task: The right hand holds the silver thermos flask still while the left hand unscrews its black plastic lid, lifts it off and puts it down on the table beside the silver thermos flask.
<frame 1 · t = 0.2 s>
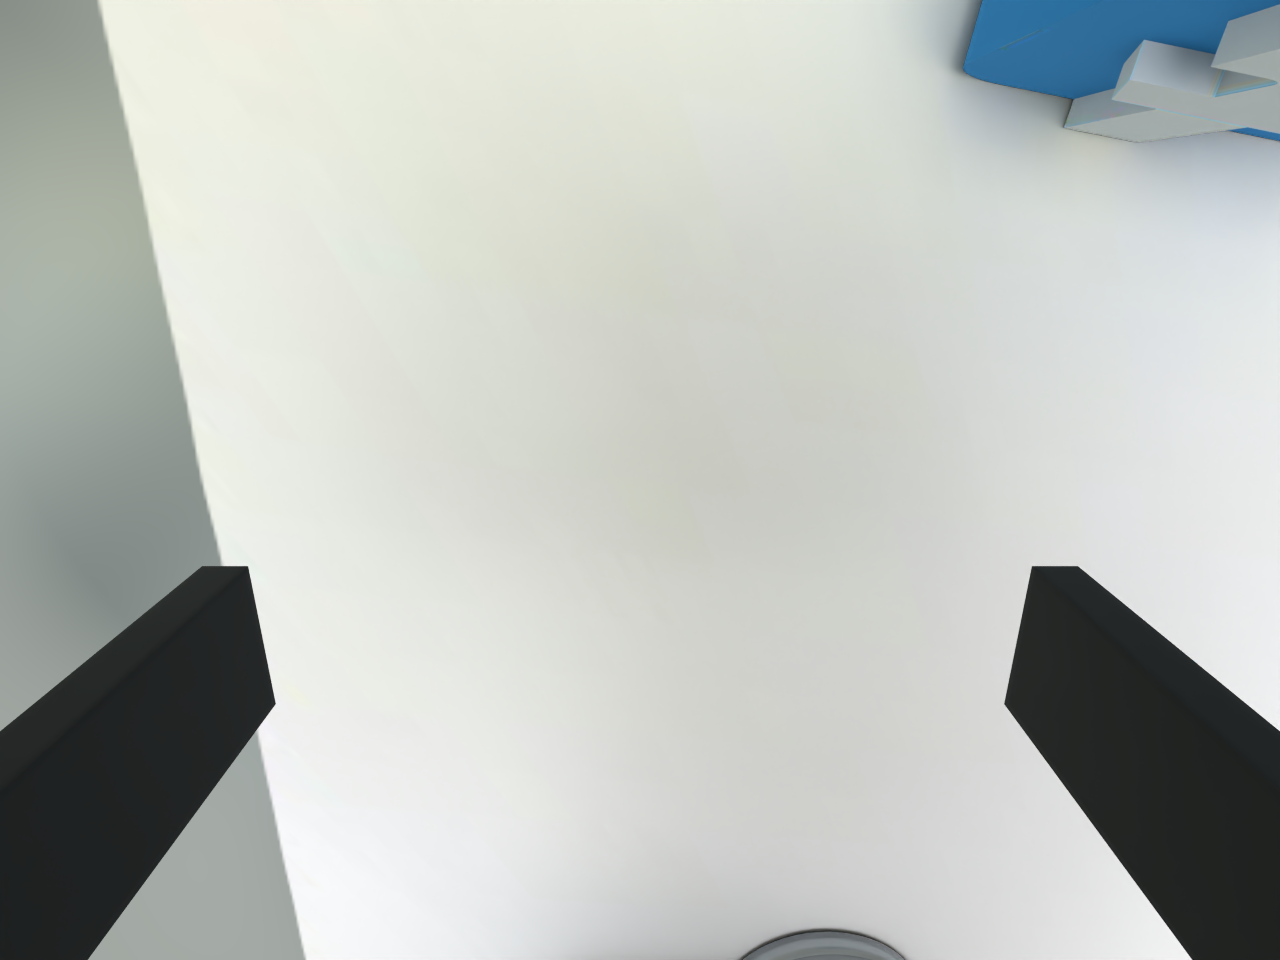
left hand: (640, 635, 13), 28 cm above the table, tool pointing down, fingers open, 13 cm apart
logo: (1168, 47, 34), on the table
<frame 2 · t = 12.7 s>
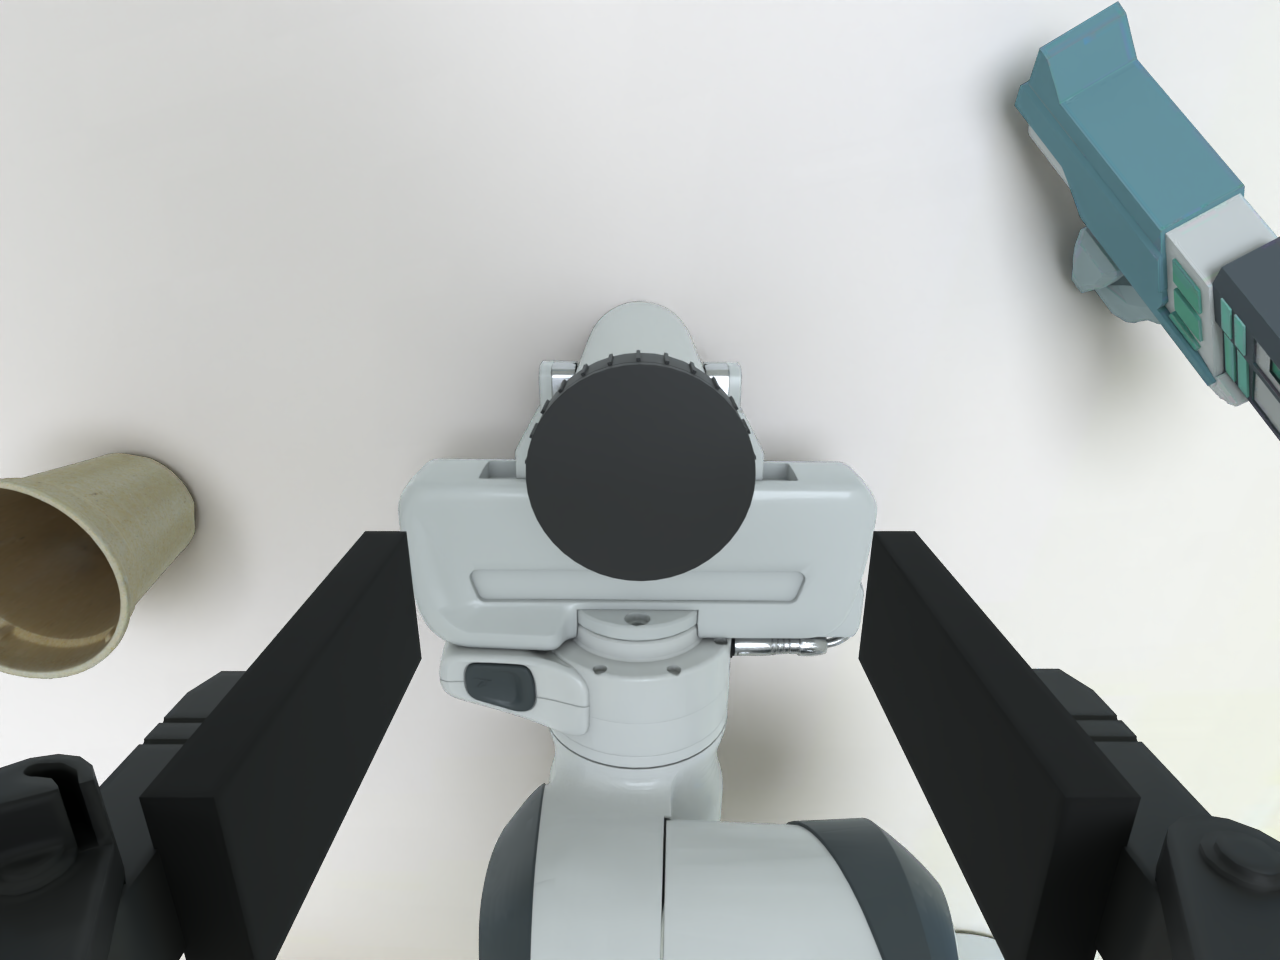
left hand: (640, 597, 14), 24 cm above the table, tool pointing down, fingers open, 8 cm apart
right hand: (639, 363, 30), fingers closed on silver thermos flask, 5 cm apart
toy gun: (1088, 232, 35), on the table
flower pot: (143, 505, 40), on the table
lid: (640, 474, 20), point 17 cm above the table, screwed on, not yet turned
silver thermos flask: (640, 355, 37), on the table, touching right hand
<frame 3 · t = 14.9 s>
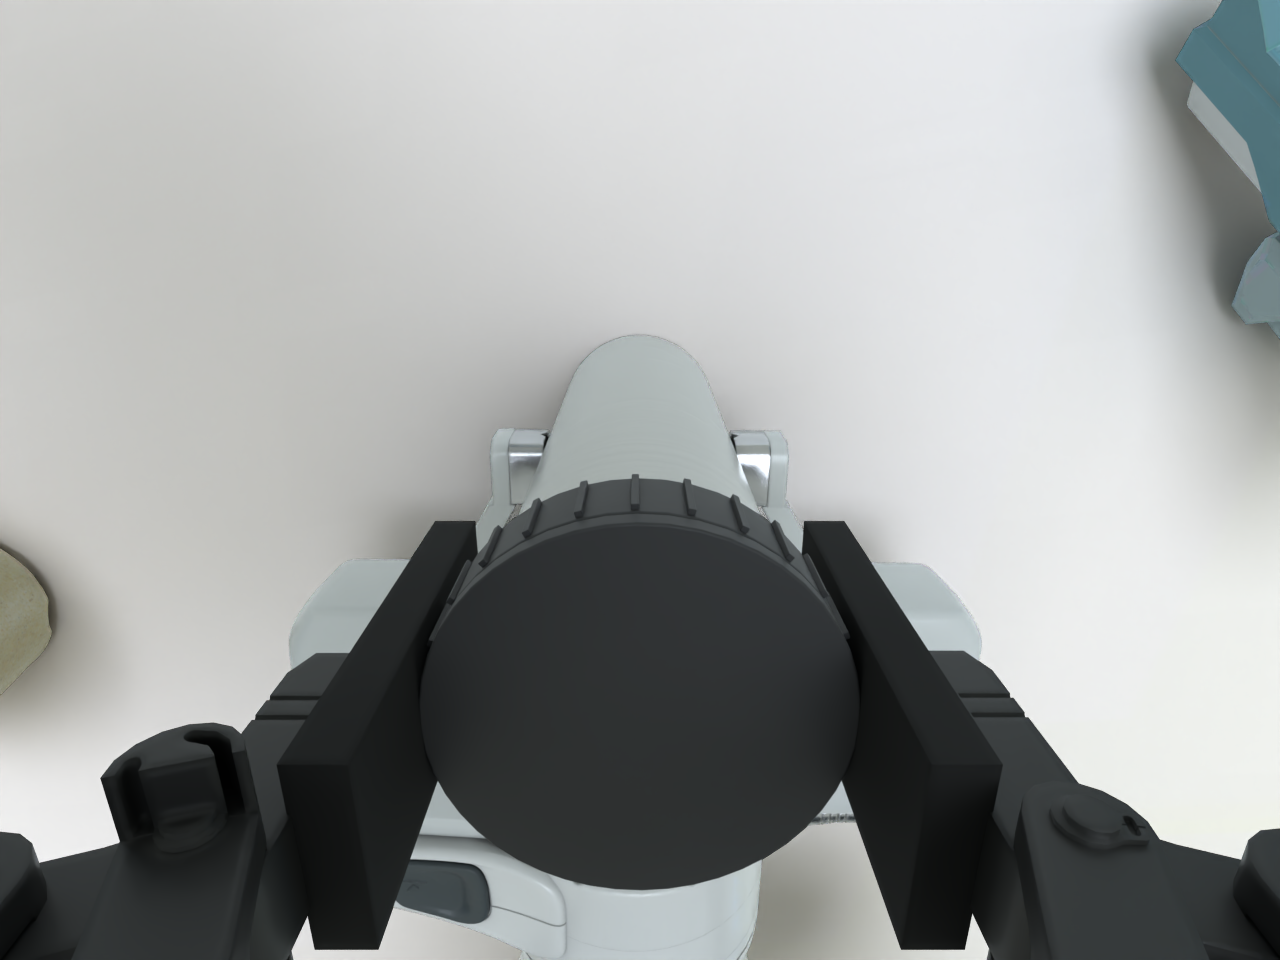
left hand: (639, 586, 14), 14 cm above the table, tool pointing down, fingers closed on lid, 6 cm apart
toy gun: (1258, 241, 25), on the table
lid: (639, 710, 11), point 17 cm above the table, screwed on, not yet turned, touching left hand
silver thermos flask: (639, 407, 27), on the table, touching right hand
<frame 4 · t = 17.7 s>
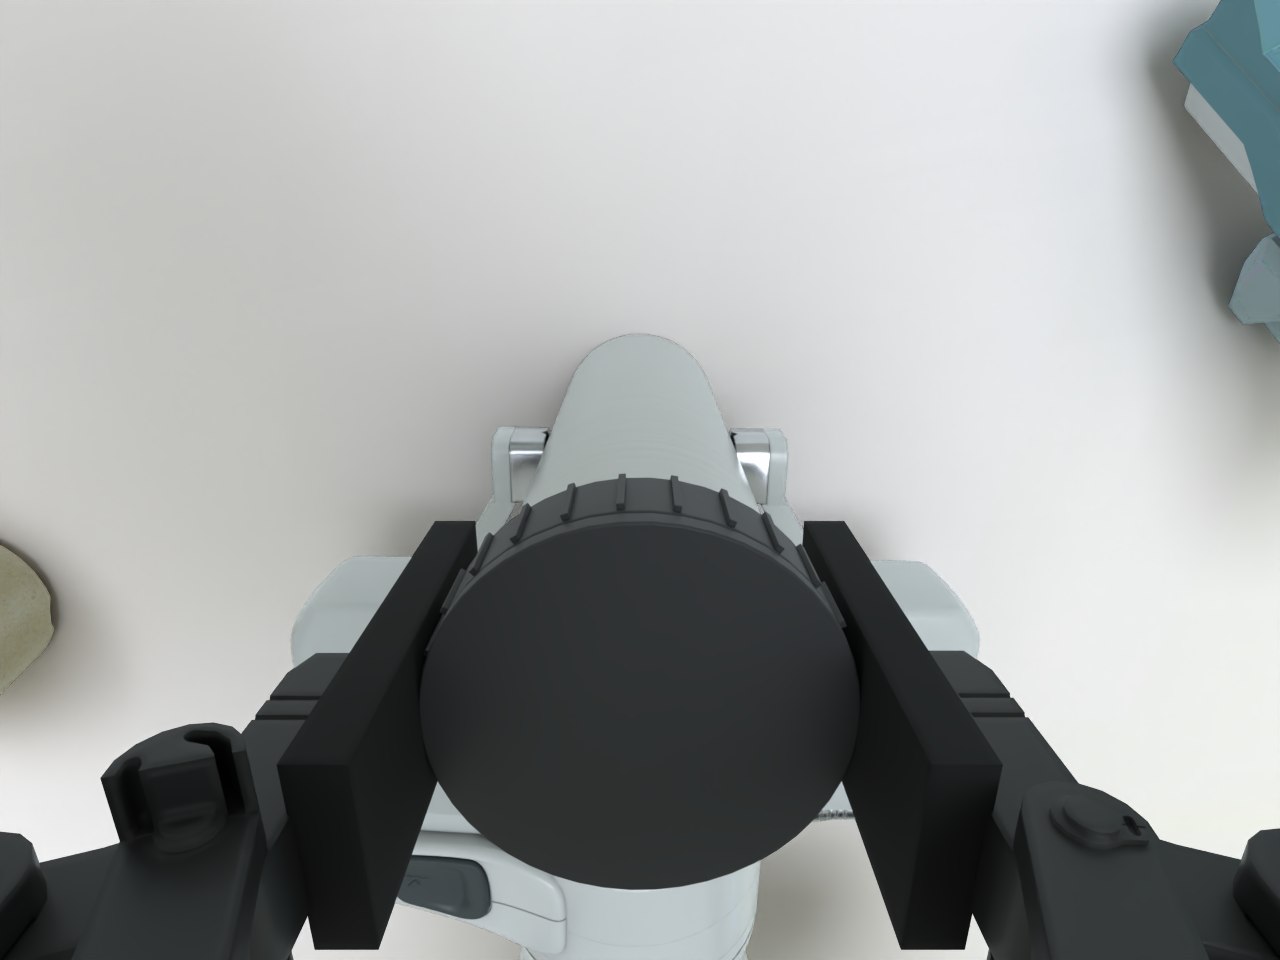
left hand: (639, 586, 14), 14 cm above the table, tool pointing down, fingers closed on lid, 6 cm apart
toy gun: (1255, 242, 25), on the table
lid: (639, 709, 11), point 18 cm above the table, turned 87° so far, risen 0.1 cm, still on its thread, touching left hand
silver thermos flask: (639, 406, 27), on the table, touching right hand
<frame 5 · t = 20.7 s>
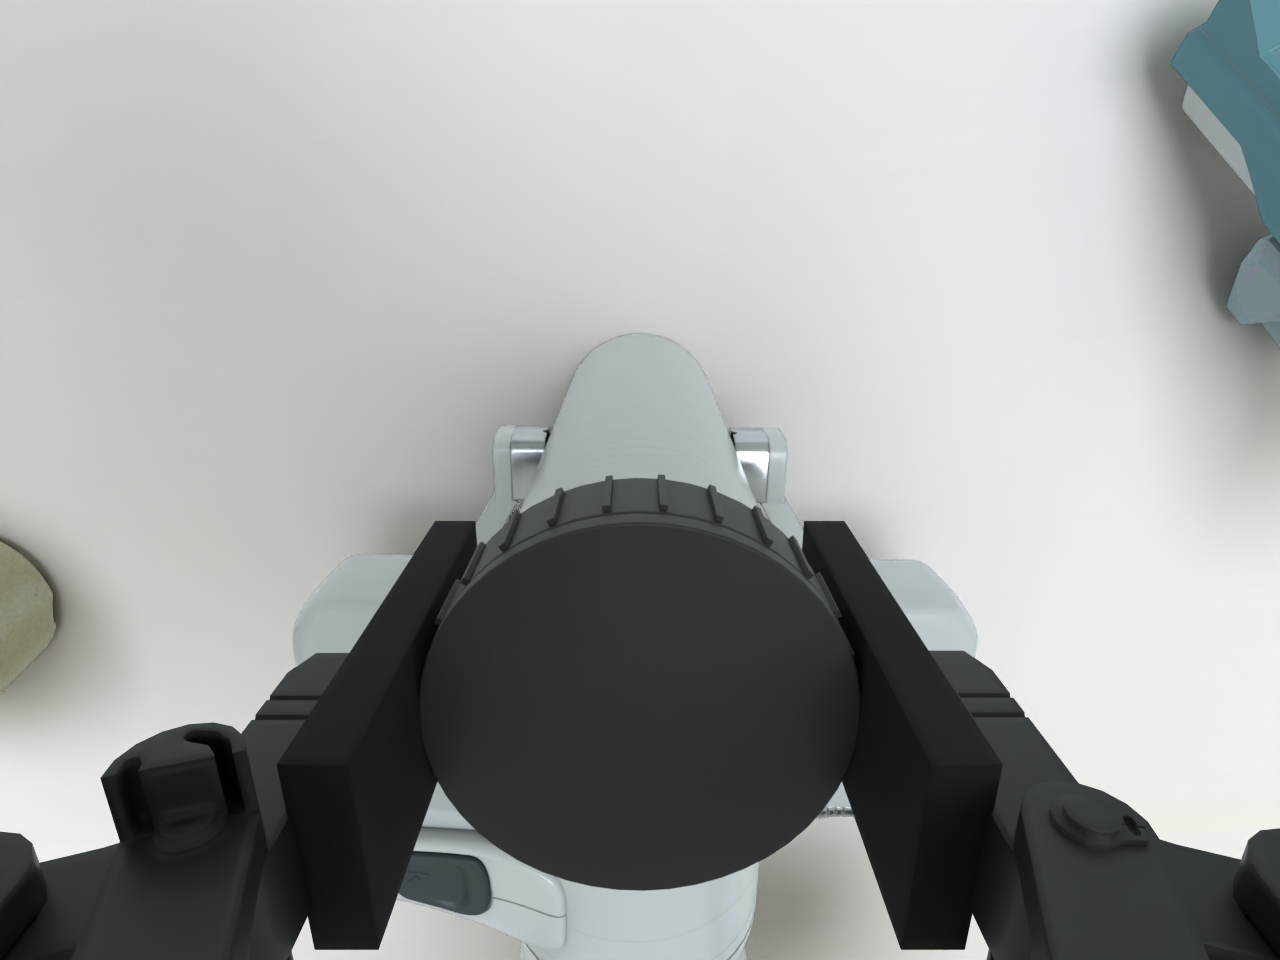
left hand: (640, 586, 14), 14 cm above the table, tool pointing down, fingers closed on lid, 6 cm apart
toy gun: (1252, 243, 26), on the table
lid: (639, 710, 11), point 18 cm above the table, turned 173° so far, risen 0.3 cm, still on its thread, touching left hand
silver thermos flask: (639, 405, 27), on the table, touching right hand
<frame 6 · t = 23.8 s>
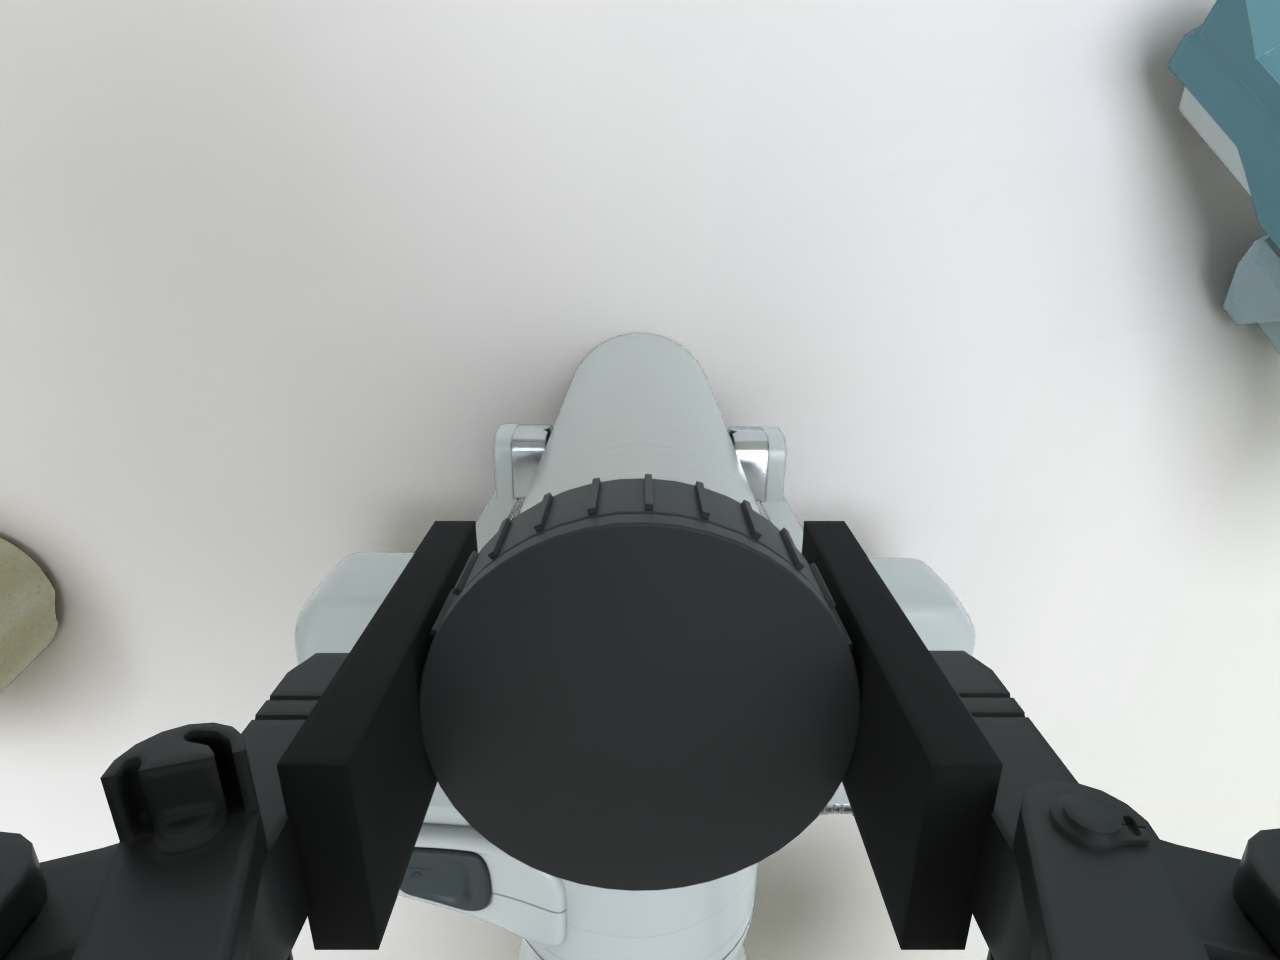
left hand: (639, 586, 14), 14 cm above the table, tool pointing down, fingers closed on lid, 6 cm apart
toy gun: (1249, 244, 26), on the table
lid: (639, 710, 11), point 18 cm above the table, turned 260° so far, risen 0.4 cm, still on its thread, touching left hand
silver thermos flask: (639, 404, 28), on the table, touching right hand
when the left hand's fingers open (0 cm above the table, at t = 36.8 s): lid stays where it is, point 1 cm above the table.
when the right hand's fingers open (6 cm above the table, at t = 37.8 s): silver thermos flask stays where it is, on the table.
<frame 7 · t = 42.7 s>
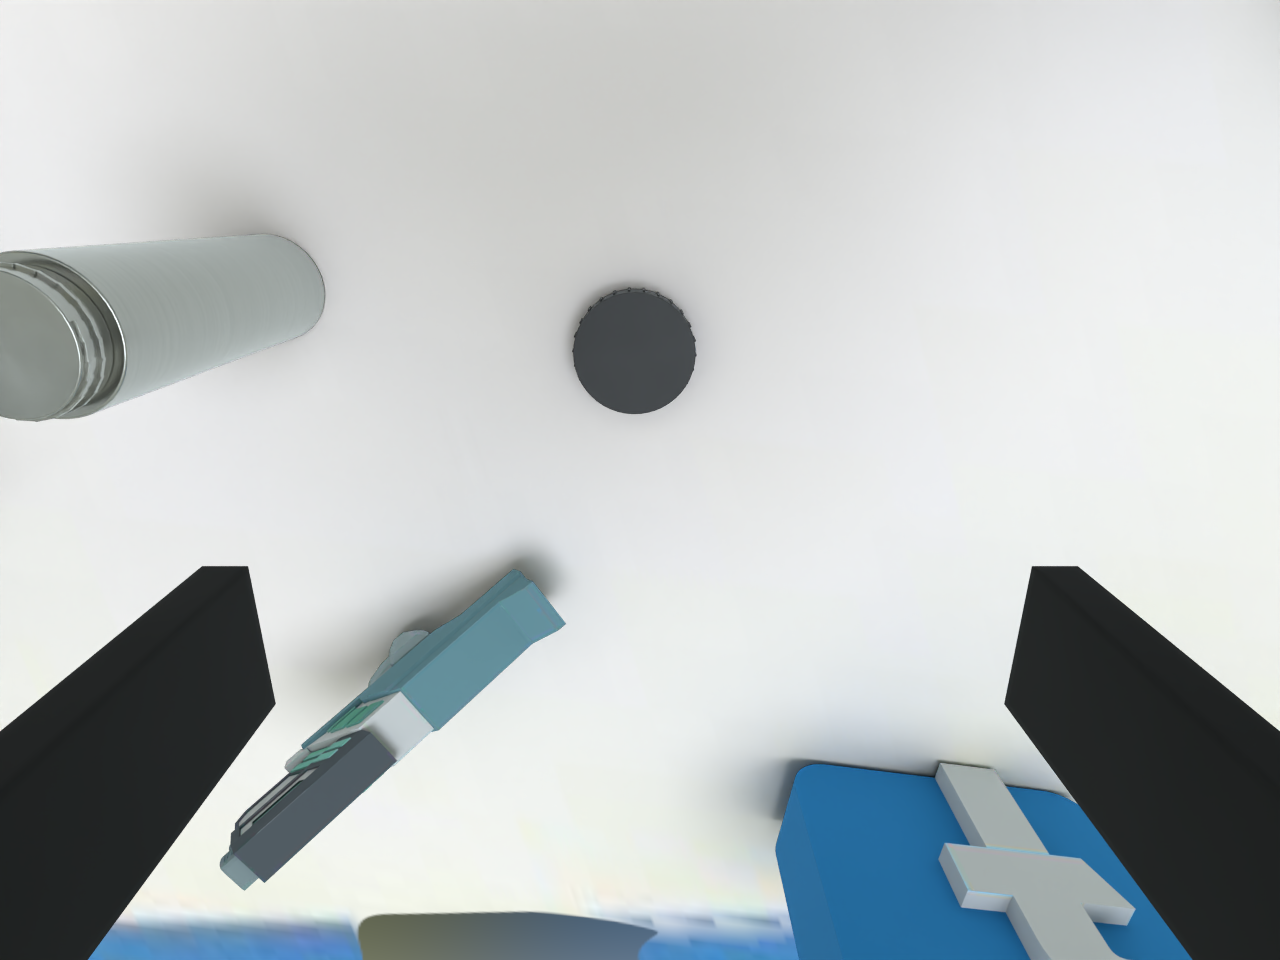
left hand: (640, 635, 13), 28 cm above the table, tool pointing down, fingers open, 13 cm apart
toy gun: (440, 636, 46), on the table
logo: (922, 808, 50), on the table
lid: (634, 353, 38), point 1 cm above the table, off its thread
silver thermos flask: (273, 288, 38), on the table
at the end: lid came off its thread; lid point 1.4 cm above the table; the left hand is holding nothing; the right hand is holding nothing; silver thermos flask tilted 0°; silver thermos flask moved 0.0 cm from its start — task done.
